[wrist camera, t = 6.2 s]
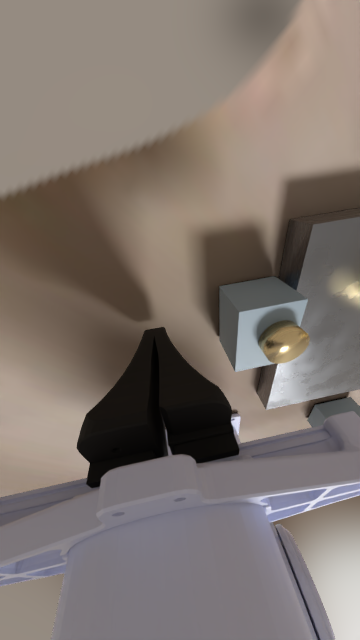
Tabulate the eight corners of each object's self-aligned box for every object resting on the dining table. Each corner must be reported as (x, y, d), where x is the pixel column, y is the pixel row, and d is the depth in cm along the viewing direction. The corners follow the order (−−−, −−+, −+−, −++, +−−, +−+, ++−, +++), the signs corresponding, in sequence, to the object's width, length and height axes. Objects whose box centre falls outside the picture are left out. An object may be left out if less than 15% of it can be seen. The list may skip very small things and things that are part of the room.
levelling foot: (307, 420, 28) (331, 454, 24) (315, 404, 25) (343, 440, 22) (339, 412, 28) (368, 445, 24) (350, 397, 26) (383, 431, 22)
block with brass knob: (219, 340, 16) (241, 383, 13) (219, 286, 13) (247, 322, 10) (265, 331, 16) (298, 371, 13) (274, 276, 14) (321, 308, 10)
